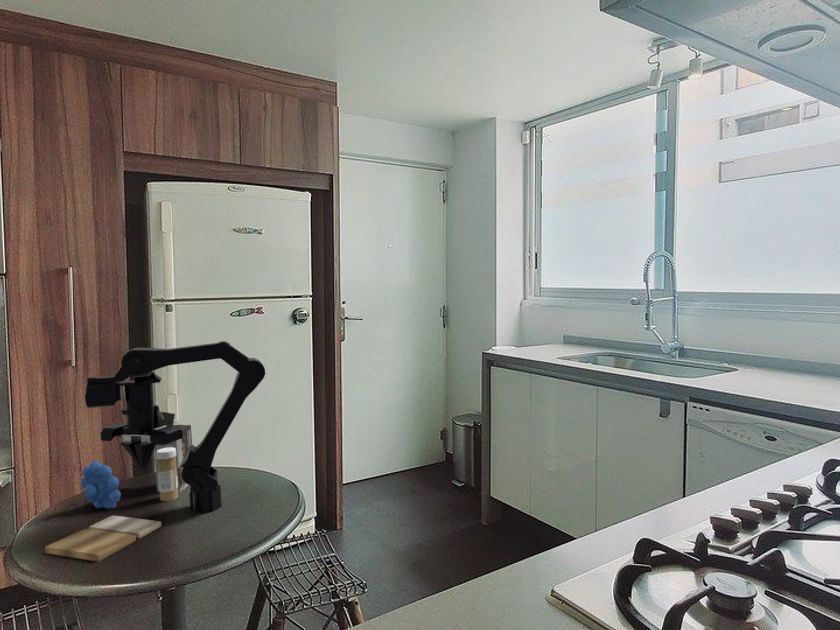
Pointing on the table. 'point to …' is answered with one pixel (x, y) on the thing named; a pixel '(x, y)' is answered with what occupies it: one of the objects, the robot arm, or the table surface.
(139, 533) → the ash board
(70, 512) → the table surface
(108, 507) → the grapes
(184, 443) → the coffee box
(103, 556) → the oak plank
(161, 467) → the sprinkles bottle
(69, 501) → the table surface
